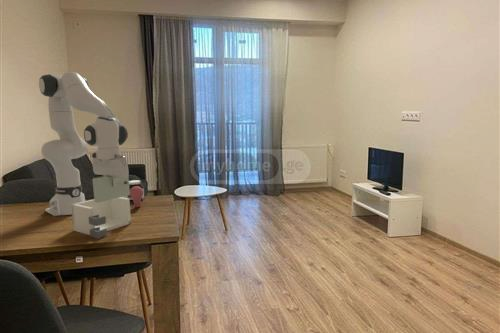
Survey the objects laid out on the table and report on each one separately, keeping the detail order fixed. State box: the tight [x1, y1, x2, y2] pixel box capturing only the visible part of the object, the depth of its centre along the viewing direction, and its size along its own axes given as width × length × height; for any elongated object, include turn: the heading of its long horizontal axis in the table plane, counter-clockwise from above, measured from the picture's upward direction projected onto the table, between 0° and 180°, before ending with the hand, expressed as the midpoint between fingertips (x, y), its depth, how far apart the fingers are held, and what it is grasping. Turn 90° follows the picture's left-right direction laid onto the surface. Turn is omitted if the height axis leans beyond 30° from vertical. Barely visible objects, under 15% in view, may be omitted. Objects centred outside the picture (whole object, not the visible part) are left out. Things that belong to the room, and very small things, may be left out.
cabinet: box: [71, 197, 132, 239], centre depth 156 cm, size 19×21×12 cm
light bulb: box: [130, 186, 144, 208], centre depth 191 cm, size 7×7×12 cm
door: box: [92, 175, 130, 203], centre depth 150 cm, size 3×16×10 cm, turn 147°
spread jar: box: [122, 179, 145, 202], centre depth 207 cm, size 12×11×12 cm
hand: (111, 185), depth 150 cm, fingers closed on door, 2 cm apart
